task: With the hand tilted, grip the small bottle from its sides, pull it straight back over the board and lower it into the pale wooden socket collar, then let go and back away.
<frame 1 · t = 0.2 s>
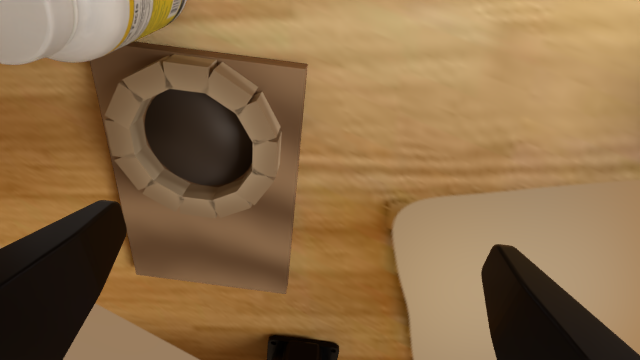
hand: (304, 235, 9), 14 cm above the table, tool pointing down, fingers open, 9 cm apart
board: (209, 183, 26), on the table
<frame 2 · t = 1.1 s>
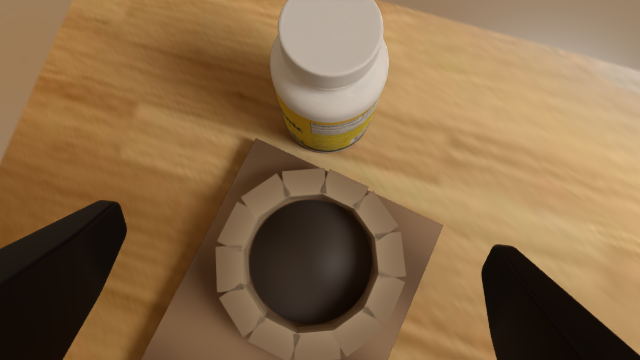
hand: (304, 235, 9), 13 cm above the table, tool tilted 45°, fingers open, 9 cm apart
board: (281, 324, 21), on the table
supplement bottle: (326, 114, 24), on the table
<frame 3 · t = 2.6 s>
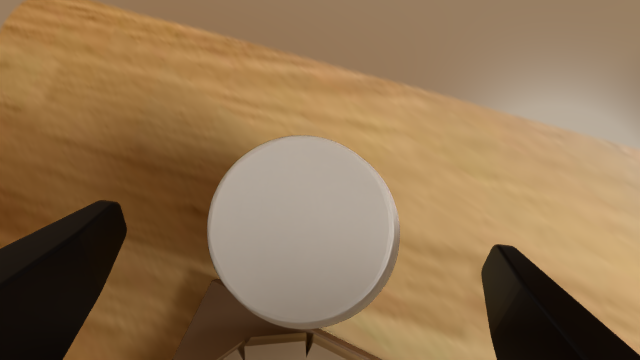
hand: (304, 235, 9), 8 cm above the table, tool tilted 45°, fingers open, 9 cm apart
supplement bottle: (311, 236, 18), on the table
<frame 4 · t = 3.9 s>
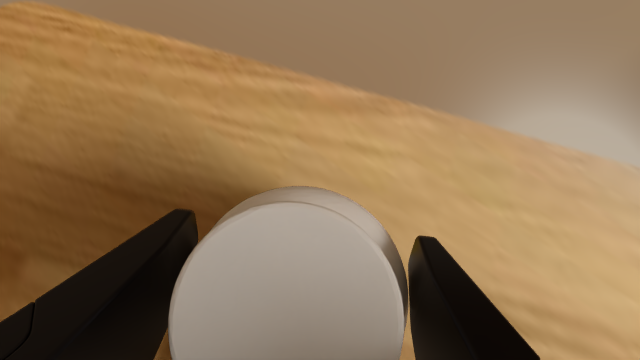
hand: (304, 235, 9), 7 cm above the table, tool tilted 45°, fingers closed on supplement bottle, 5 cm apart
supplement bottle: (307, 272, 16), on the table, touching gripper
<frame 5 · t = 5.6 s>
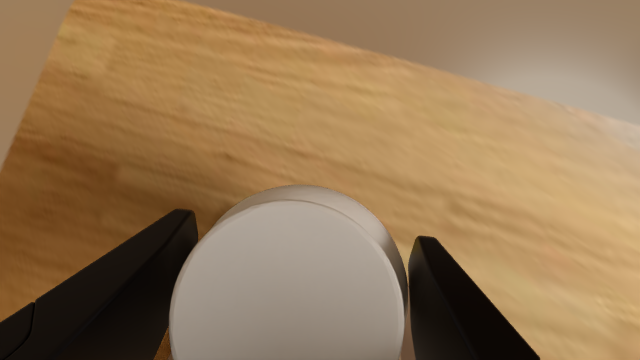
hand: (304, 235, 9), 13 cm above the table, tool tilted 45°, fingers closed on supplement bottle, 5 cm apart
supplement bottle: (307, 271, 16), point 6 cm above the table, touching gripper
when the fingers open (9 cm above the table, at t = 7.6 s): supplement bottle stays where it is, resting on board.
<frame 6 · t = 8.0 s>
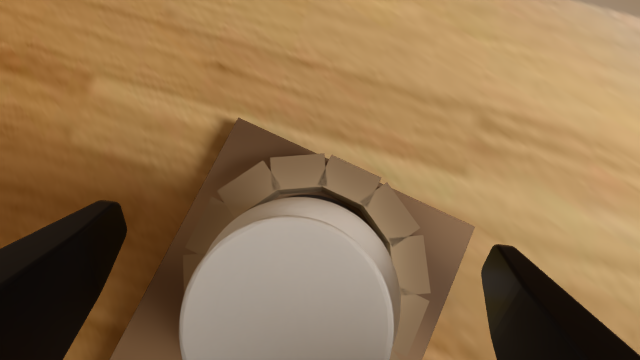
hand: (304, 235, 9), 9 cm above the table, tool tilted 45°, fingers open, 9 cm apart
board: (269, 352, 17), on the table
supplement bottle: (306, 275, 17), point 1 cm above the table, touching board
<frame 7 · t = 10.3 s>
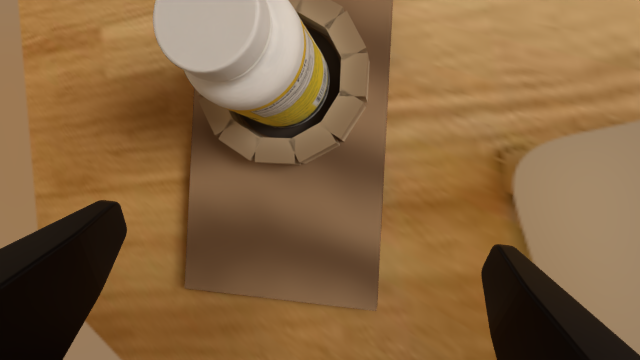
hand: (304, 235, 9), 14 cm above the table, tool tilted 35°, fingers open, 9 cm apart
board: (287, 150, 23), on the table
supplement bottle: (287, 85, 23), point 1 cm above the table, touching board
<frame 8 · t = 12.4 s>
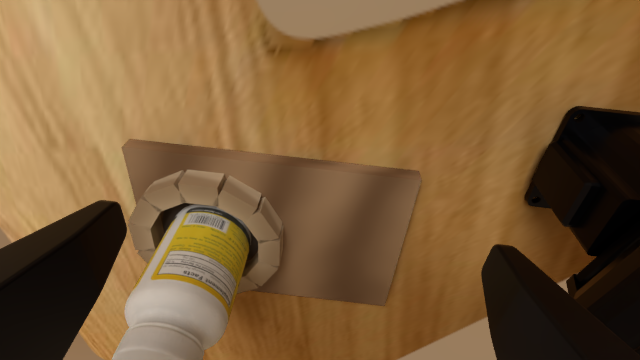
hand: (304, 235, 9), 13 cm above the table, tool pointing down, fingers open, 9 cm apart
board: (272, 227, 27), on the table
supplement bottle: (215, 228, 26), point 1 cm above the table, touching board
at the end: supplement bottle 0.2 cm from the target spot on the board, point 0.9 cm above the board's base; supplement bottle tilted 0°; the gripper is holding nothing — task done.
